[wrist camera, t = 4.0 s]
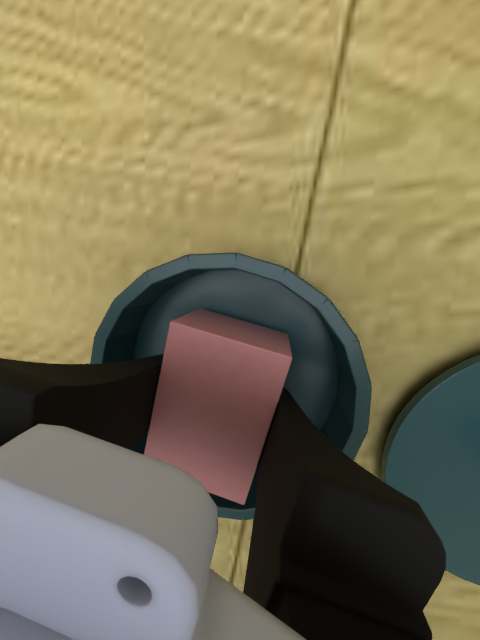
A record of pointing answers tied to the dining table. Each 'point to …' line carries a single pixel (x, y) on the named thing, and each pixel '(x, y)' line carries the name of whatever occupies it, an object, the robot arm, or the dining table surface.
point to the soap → (217, 399)
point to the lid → (443, 462)
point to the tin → (261, 309)
